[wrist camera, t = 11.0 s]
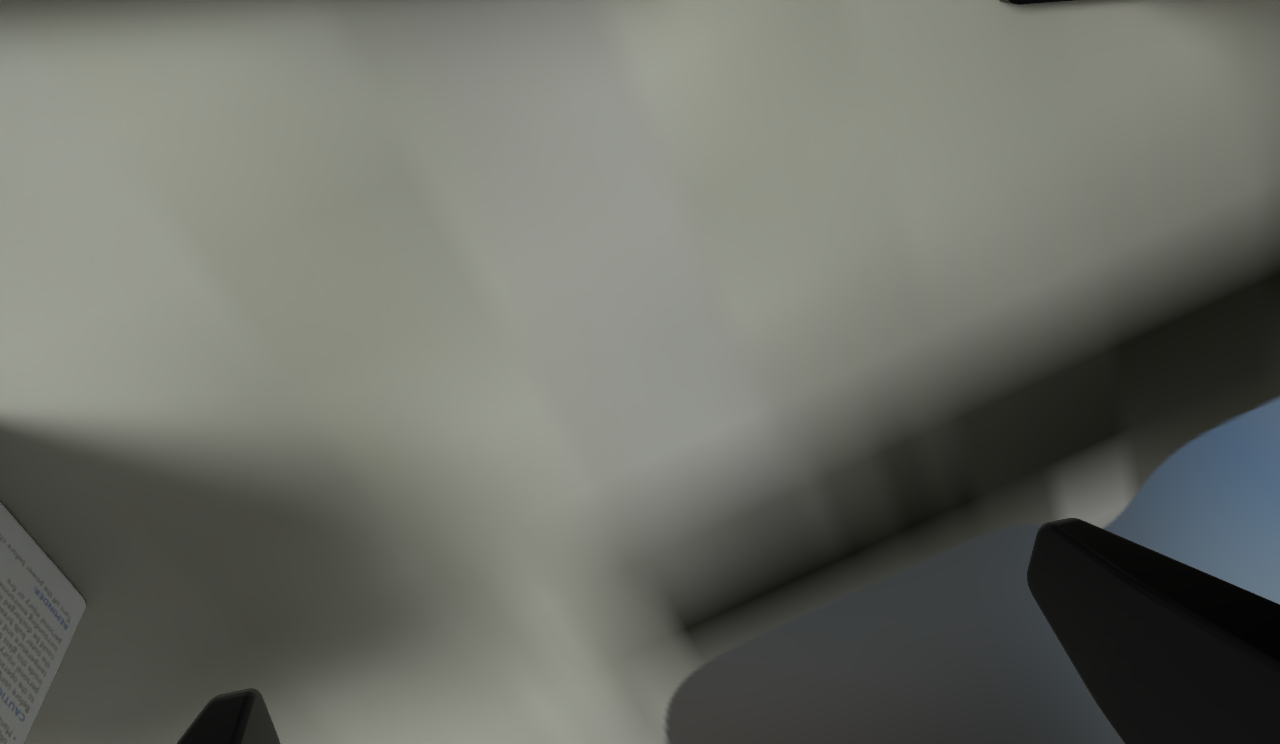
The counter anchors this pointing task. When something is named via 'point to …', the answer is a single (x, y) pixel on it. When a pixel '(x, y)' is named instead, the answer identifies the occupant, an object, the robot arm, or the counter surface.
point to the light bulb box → (30, 627)
